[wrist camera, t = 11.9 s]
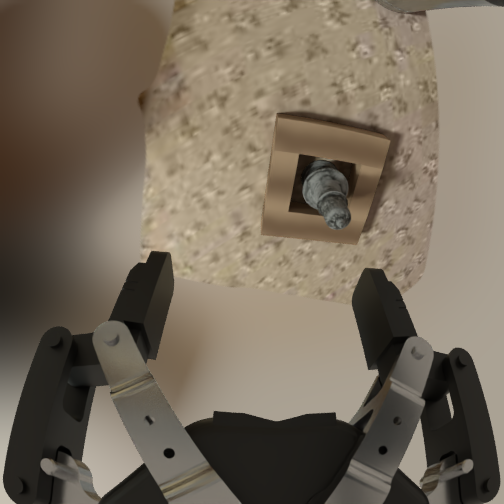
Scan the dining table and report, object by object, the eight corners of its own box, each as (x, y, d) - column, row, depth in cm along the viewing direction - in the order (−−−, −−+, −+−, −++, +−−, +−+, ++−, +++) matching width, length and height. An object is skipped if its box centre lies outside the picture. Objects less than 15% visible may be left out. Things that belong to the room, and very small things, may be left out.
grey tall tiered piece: (297, 159, 36) (313, 203, 26) (341, 157, 35) (372, 199, 26) (299, 199, 39) (313, 253, 30) (341, 196, 39) (366, 248, 29)
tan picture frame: (276, 113, 32) (278, 117, 30) (381, 133, 33) (390, 140, 30) (260, 223, 42) (261, 234, 39) (351, 233, 43) (356, 245, 40)
